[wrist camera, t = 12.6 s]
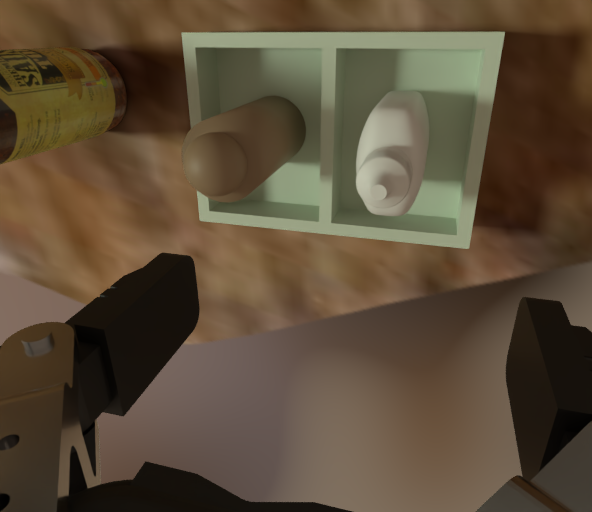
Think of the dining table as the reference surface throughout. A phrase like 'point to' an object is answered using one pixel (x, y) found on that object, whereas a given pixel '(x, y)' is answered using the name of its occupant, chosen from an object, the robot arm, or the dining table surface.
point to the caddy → (334, 127)
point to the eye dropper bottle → (393, 153)
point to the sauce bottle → (56, 99)
